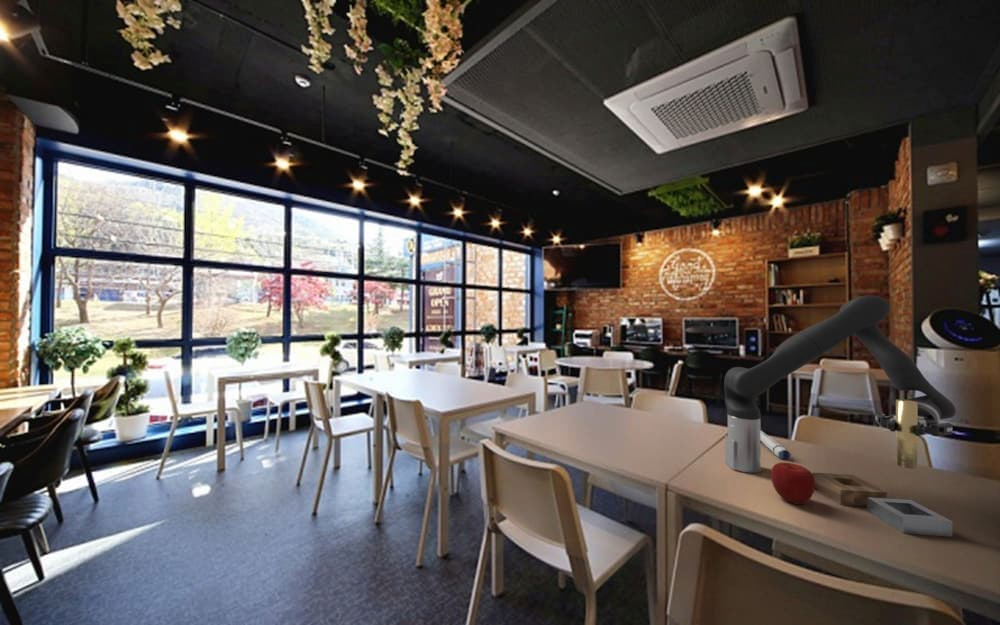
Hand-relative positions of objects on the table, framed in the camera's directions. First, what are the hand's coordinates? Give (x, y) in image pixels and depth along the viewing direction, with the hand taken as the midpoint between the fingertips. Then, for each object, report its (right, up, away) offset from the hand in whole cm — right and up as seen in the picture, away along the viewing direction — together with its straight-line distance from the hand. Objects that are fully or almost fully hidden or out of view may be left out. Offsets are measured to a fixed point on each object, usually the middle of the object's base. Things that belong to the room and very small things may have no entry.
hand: (904, 429), depth 90 cm
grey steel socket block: (+2, -23, +2) cm, 24 cm away
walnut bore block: (0, -23, +15) cm, 28 cm away
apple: (-17, -24, +12) cm, 32 cm away
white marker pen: (+5, -24, +53) cm, 59 cm away
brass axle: (+2, -9, +2) cm, 10 cm away
